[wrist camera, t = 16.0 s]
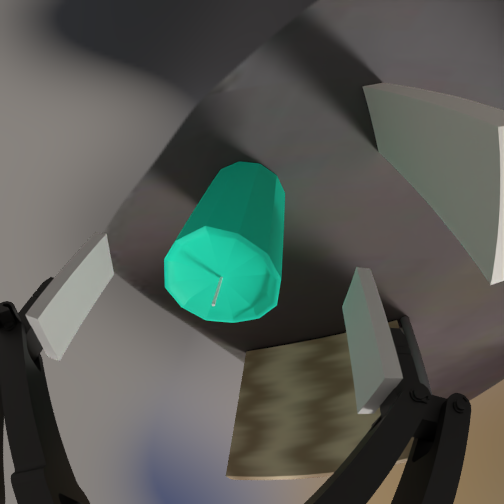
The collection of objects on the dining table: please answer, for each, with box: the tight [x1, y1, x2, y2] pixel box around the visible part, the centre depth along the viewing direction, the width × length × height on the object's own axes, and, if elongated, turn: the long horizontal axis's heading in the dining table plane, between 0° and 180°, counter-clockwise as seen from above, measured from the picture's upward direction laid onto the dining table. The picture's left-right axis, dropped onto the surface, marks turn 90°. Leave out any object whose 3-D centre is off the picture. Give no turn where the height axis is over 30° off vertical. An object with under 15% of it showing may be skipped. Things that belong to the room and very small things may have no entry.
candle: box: [164, 161, 285, 323], centre depth 19 cm, size 6×6×12 cm
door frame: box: [362, 83, 504, 394], centre depth 19 cm, size 2×31×15 cm, turn 20°
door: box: [226, 320, 414, 480], centre depth 25 cm, size 17×3×15 cm, turn 111°
